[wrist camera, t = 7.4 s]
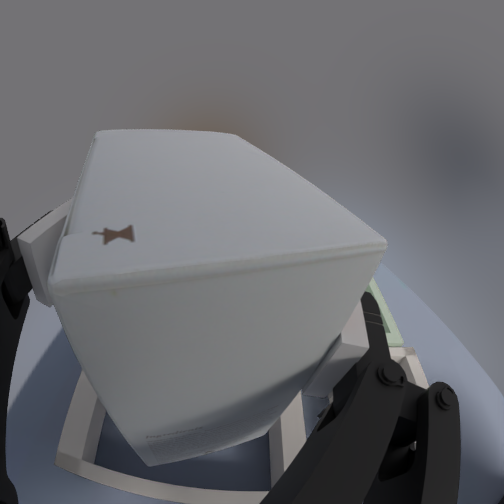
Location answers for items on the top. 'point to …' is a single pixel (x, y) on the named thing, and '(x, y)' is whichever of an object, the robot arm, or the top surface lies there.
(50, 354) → the top surface
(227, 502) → the beige divided frame
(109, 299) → the small box
